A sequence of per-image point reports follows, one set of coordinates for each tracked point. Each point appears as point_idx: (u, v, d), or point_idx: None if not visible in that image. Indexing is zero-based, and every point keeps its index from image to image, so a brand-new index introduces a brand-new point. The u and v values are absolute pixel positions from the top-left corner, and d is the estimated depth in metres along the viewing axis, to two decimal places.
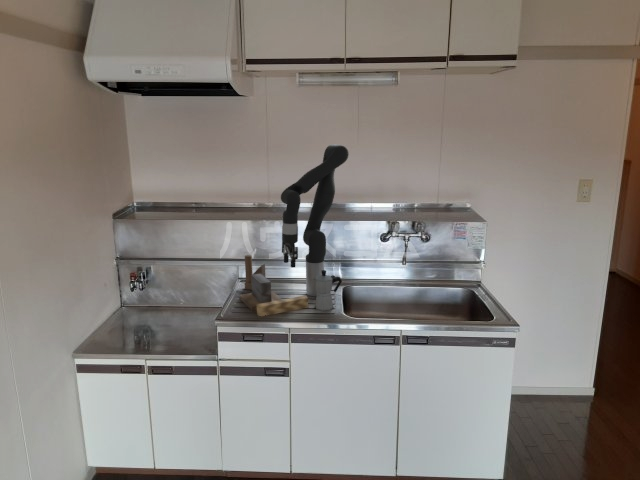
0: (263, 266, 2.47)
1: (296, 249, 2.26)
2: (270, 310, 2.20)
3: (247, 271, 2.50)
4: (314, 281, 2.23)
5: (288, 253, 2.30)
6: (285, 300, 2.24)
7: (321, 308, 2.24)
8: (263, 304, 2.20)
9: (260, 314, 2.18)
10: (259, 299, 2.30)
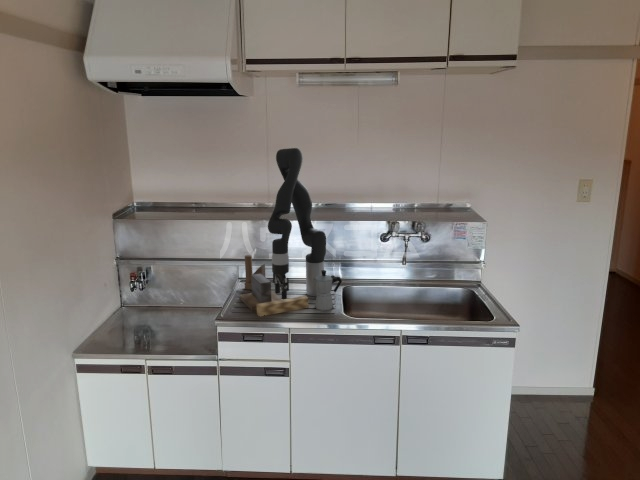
0: (263, 266, 2.47)
1: (287, 280, 2.15)
2: (270, 310, 2.20)
3: (247, 271, 2.50)
4: (314, 281, 2.23)
5: (279, 284, 2.18)
6: (285, 300, 2.24)
7: (321, 308, 2.24)
8: (263, 304, 2.20)
9: (260, 314, 2.18)
10: (259, 299, 2.30)
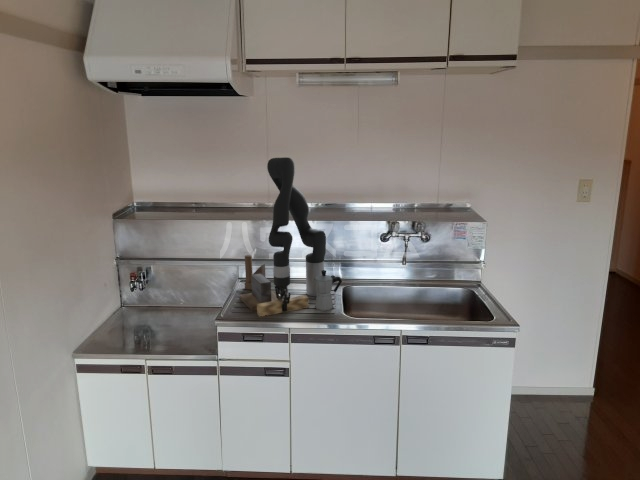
0: (263, 266, 2.47)
1: (288, 296, 2.17)
2: (271, 310, 2.20)
3: (247, 271, 2.50)
4: (314, 281, 2.23)
5: (280, 296, 2.21)
6: None
7: (321, 308, 2.24)
8: (263, 304, 2.20)
9: (260, 314, 2.18)
10: (259, 299, 2.30)
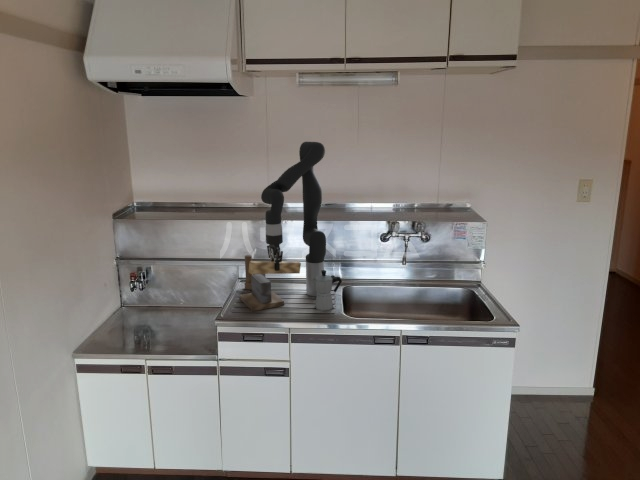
0: None
1: (281, 254, 2.16)
2: (263, 269, 2.18)
3: (247, 271, 2.50)
4: (314, 281, 2.23)
5: (272, 255, 2.19)
6: None
7: (321, 308, 2.24)
8: (256, 262, 2.18)
9: (252, 271, 2.16)
10: (259, 299, 2.30)
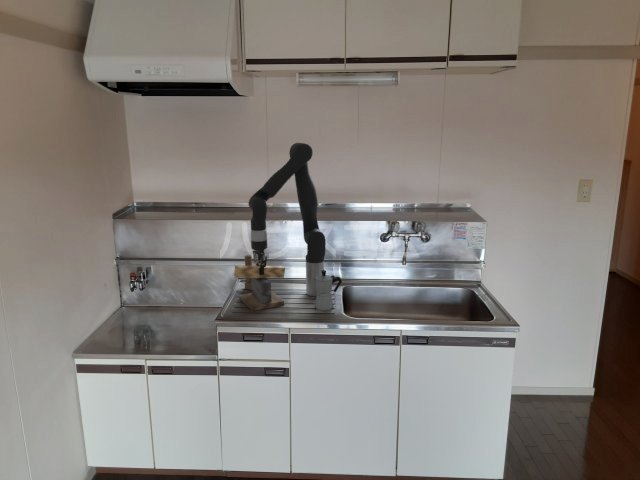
0: None
1: (265, 259, 2.25)
2: (248, 273, 2.27)
3: None
4: (314, 281, 2.23)
5: (257, 260, 2.28)
6: None
7: (321, 308, 2.24)
8: (241, 266, 2.27)
9: (237, 275, 2.25)
10: (259, 299, 2.30)
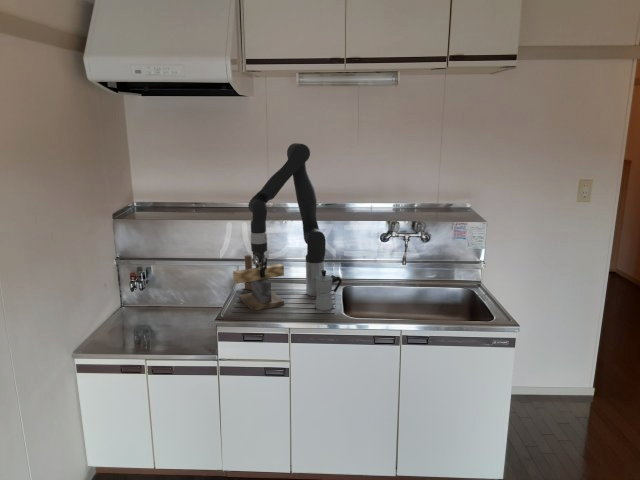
0: None
1: (265, 260, 2.25)
2: (247, 277, 2.28)
3: None
4: (314, 281, 2.23)
5: (257, 263, 2.28)
6: None
7: (321, 308, 2.24)
8: (240, 271, 2.27)
9: (237, 280, 2.26)
10: (259, 299, 2.30)
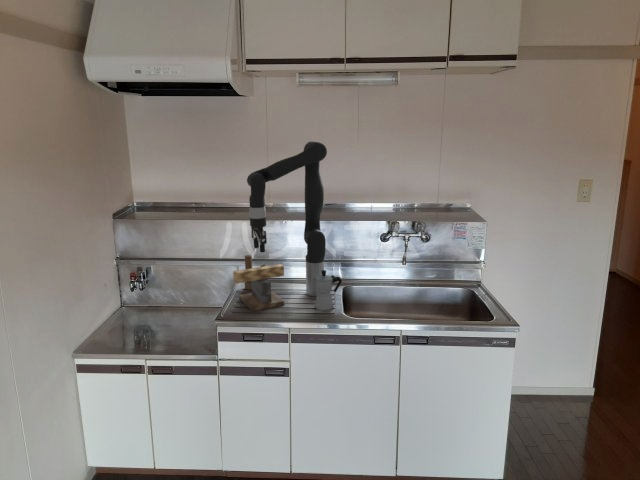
0: (263, 266, 2.47)
1: (264, 233, 2.21)
2: (247, 277, 2.28)
3: None
4: (314, 281, 2.23)
5: (257, 238, 2.25)
6: (261, 268, 2.31)
7: (321, 308, 2.24)
8: (240, 271, 2.27)
9: (237, 280, 2.26)
10: (259, 299, 2.30)
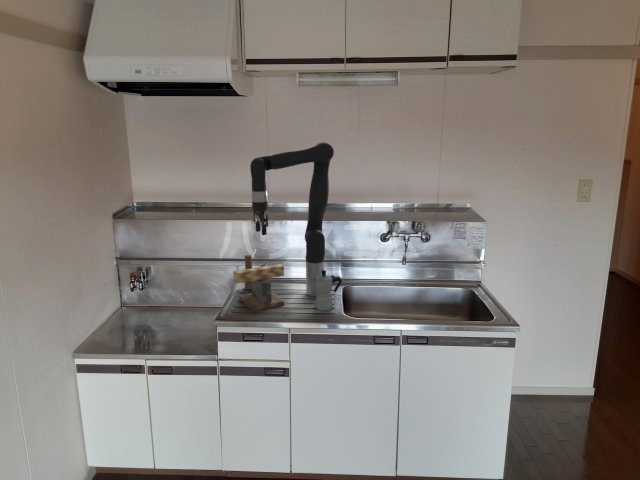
0: (263, 266, 2.47)
1: (266, 216, 2.28)
2: (247, 277, 2.28)
3: None
4: (314, 281, 2.23)
5: (259, 221, 2.32)
6: (261, 268, 2.31)
7: (321, 308, 2.24)
8: (240, 271, 2.27)
9: (237, 280, 2.26)
10: (259, 299, 2.30)
